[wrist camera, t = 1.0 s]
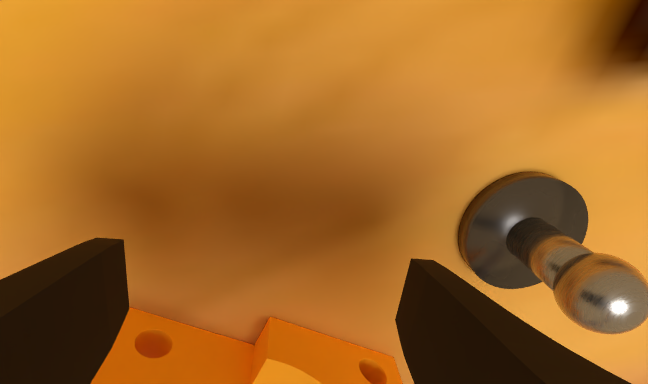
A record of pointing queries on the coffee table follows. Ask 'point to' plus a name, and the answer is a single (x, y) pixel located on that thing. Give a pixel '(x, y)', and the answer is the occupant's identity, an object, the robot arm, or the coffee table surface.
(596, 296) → the ball stud
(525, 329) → the robot arm
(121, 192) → the coffee table surface
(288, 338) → the pipe clamp
